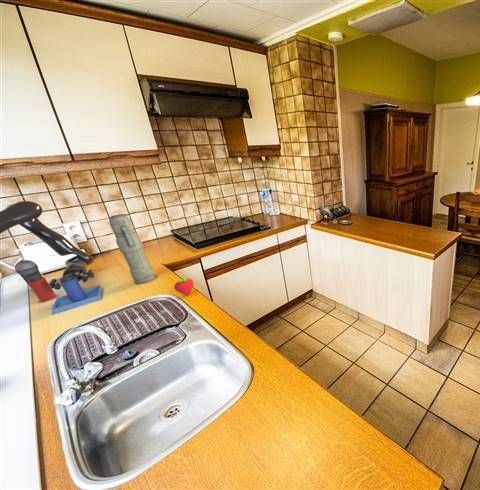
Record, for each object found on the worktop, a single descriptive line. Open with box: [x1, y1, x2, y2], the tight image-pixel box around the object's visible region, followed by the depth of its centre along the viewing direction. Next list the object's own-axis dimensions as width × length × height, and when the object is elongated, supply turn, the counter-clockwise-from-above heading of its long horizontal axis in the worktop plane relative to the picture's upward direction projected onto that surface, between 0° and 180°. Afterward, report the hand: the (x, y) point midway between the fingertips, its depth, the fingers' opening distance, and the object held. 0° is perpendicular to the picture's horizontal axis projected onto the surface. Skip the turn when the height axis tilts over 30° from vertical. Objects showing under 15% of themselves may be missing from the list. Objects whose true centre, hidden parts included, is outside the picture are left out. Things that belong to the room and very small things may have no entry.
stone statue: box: [108, 213, 157, 285], centre depth 132 cm, size 9×12×35 cm
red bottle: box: [27, 274, 57, 303], centre depth 124 cm, size 5×5×12 cm
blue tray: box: [51, 285, 103, 315], centre depth 123 cm, size 15×13×2 cm
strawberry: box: [173, 276, 194, 296], centre depth 121 cm, size 6×8×10 cm
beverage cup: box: [14, 251, 42, 287], centre depth 133 cm, size 7×7×20 cm
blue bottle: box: [59, 275, 87, 303], centre depth 121 cm, size 5×5×12 cm
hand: (70, 284), depth 121 cm, fingers open, 8 cm apart
